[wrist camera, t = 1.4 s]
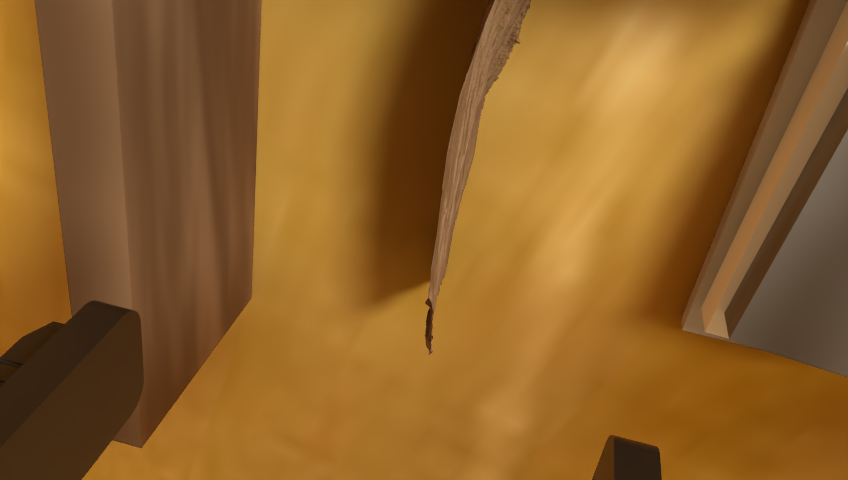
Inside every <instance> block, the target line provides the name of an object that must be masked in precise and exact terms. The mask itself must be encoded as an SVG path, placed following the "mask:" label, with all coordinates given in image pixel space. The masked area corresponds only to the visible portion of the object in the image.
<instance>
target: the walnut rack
mask: <svg viewBox="0 0 848 480" xmlns="http://www.w3.org/2000/svg"><path fill="white" fill-rule="evenodd" d="M35 7H36V15H37V24H38V32H39V41H40V49H41V58H42V66H43V75H44V83H45V92H46V100H47V109H48V117H49V126H50V134H51V143H52V151H53V160H54V168H55V177H56V185H57V194H58V202H59V211H60V219H61V228H62V236H63V245H64V253H65V262H66V270H67V279H68V287H69V296H70V304H71V313H72V317H73V316H74V315H75V314H76V313H77V312H78V311H79V310H80V309H81V308H82V307H83V306H84V305H85V304H87V303H88V302H90V301H93V300H96V301H100V302H104V303H108V304H111V305H115V306H119V307H123V308H127V309H131V310H135V311H137V312H138V314H139V315H140V319H141V332H142V350H143V368H144V385H143V390H142V394H141V397H140V400H139V402H138V404H137V406H136V408H135V410H134V412H133V413H132V415H131V416H130V417H129V419H128V420H127V421H126V423H125V424H124V425H123V427H122V428H121V429H120V430H119V432H118V433H117V434H116V436H115V437H114V438H113V439H112V440H114V441H118V442H121V443H125V444H128V445H132V446H135V447H139V448H142V447H143V445H144V444H145V443H146V441H147V440H148V439H149V437H150V436H151V434H152V433H153V432H154V430H155V429H156V428H157V426H158V425H159V424H160V422H161V421H162V419H163V418H164V417H165V415H166V414H167V413H168V411H169V410H170V409H171V407H172V406H173V404H174V403H175V402H176V400H177V399H178V398H179V396H180V395H181V393H182V392H183V391H184V389H185V388H186V387H187V385H188V384H189V383H190V381H191V380H192V378H193V377H194V376H195V374H196V373H197V372H198V370H199V369H200V368H201V366H202V365H203V363H204V362H205V361H206V359H207V358H208V357H209V355H210V354H211V352H212V351H213V350H214V348H215V347H216V346H217V344H218V343H219V342H220V340H221V339H222V337H223V336H224V335H225V333H226V332H227V331H228V329H229V328H230V326H231V325H232V324H233V322H234V321H235V320H236V318H237V317H238V316H239V314H240V313H241V311H242V310H243V309H244V307H245V306H246V305H247V303H248V302H249V301H250V299H251V295H252V265H253V235H254V206H255V176H256V146H257V116H258V86H259V56H260V26H261V0H35Z"/></svg>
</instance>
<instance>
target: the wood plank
mask: <svg viewBox="0 0 848 480" xmlns="http://www.w3.org/2000/svg"><path fill="white" fill-rule="evenodd" d="M530 1H531V0H490V2H489V4H488V6H487V9H486V11H485V13H484V16H483V19H482V23H481V26H480V29H479V34H478V38H477V40H476V42H475V45H474V48H473V51H472V56H471V61H470V65H469V68H468V71H467V74H466V77H465V80H464V83H463V86H462V89H461V93H460V97H459V101H458V106H457V110H456V114H455V119H454V123H453V127H452V132H451V136H450V141H449V146H448V151H447V156H446V164H445V171H444V177H443V184H442V197H441V204H440V212H439V220H438V228H437V236H436V242H435V248H434V255H433V261H432V266H431V282H430V287H429V293H428V297H429V298H428V299H427V301H426V302H425V303H426V304H427V305H428V306H429V307H430V308H429V310H428V314H427V320H426V326H427V327H426V334H425V337H426V346H427V348H428V349H429V355H430V354H431V353H432V352H433V351H432V349H431V345H432V344H431V341H432V339H433V336H432V328H433V326H432V320H433V314H434V310H435V306H436V300H437V296H438V294H439V290H440V285H441V284H442V280H443V278H444V276H445V272H446V267H447V263H448V256H449V251H450V245H451V240H452V234H453V229H454V225H455V221H456V218H457V214H458V209H459V205H460V201H461V197H462V193H463V191H464V188H465V185H466V182H467V178H468V175H469V171H470V167H471V164H472V160H473V156H474V151H475V145H476V139H477V133H478V127H479V120H480V116H481V111H482V109H483V105H484V101H485V96H486V94H487V93H488V92H489V91H488V90H489V89H490V88H491V86H492V84H493V82H494V81H496V80H497V78H498V77H497V76H498V75H499V74H500V72H501V71H502V67H504V66H505V64H506V61H507V59H509V54H510V52H511V51H512V48H513V45H514V44H516V43H519V44H520V40H519V33H520V29H521V24H522V20H523V18H524V16H525V15H526V14H525V13H526V12H527V10H528V9H529V7H530ZM498 79H499V78H498Z"/></svg>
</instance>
